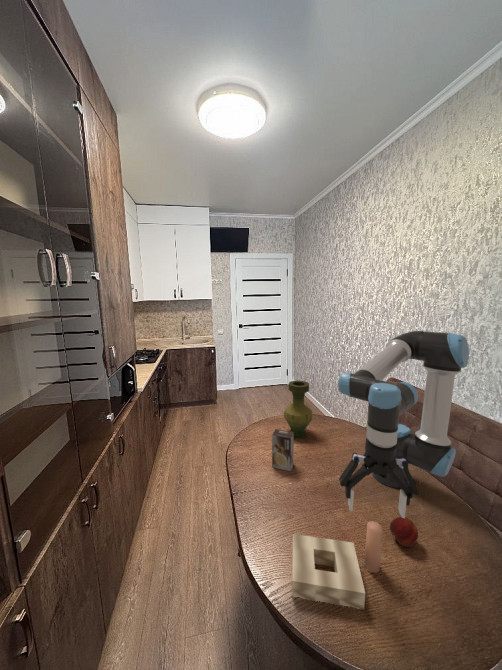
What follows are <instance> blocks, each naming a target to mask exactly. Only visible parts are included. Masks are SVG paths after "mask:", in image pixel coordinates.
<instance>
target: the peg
mask: <svg viewBox="0 0 502 670" xmlns="http://www.w3.org/2000/svg"><path fill="white" fill-rule="evenodd" d="M383 529H384V528H383V526H382V525H381V524H380V523H378V522H376V521H372V520H371V521H368V522H367V524H366V534H365V535H366V536H365V537H366V538H365V551H364V563H365V564H364V567H365V566H366V567H365V569H366V568H367V569H368V570H369V572H370V571H371V572H374V573H373V574H377V573H376V572H378V571H379V572H380V566H381V553H382V542H383V541H382V540H383ZM367 569H366V570H367ZM368 570H367V571H368ZM371 572H370V573H371ZM379 572H378V573H379Z"/></svg>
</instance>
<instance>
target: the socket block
mask: <svg viewBox="0 0 502 670" xmlns="http://www.w3.org/2000/svg"><path fill="white" fill-rule="evenodd" d="M355 548H356V547H355V543H354V542H351V541H345V540H337V539H333V538H332V539H331V538H323V537H318V536H317V537H316V536H310V535H301V534H296V533H293V534H292V554H291V555H292V556H291V557H292V559H291V560H292V565H291V567H292V569H291V570H292V573H291V577H292V579H291V597H292V596H295V597H300V598H304V599H303V600H305V599H308V600H307V601H311V600H312V602H317V601H318V603H322V602H326V603H325V604H328V603H330V604H329V605H333V604H335V606H339V605H343V606H342V607H344V606H352V607H359V608H364V609H365V603H366V591H365V590H366V589H365V586H364V582H363V578H362V573H361V570H360V565H359V561H358V556H357V553H356V549H355ZM316 565H319V566H326V567H333V570H334V571H329V570H328V571H327V570H323V569H316ZM300 598H299V599H300ZM319 601H320V602H319Z"/></svg>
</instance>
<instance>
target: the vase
mask: <svg viewBox="0 0 502 670" xmlns="http://www.w3.org/2000/svg"><path fill="white" fill-rule="evenodd" d="M288 391H290V392H291V393H292V394H291V395H292V403H291V404H289V405H288V406H286V407H285V408H284V412H283V418H284V419H285V421H286V423H287V424H288V426H289V428H290V430H289V431H290V432H294V439H304V438H305V437H306V436H307V433H306V429H307V428H308V426H309V425H310V423H311V422H312V420H313V410H312V409H311V408H310V407H309V406H307V405H306V404H305V394H306V393H309V391H310V383H309V382H307V381H304V380H292V381H289V382H288Z"/></svg>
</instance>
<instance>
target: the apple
mask: <svg viewBox="0 0 502 670" xmlns="http://www.w3.org/2000/svg"><path fill="white" fill-rule="evenodd" d="M389 530H390V532H391V534H392V535H393V537H394V539H396V541H397V542H398V544H399V545H401V546H403V547H412V546H414V544H416V542H417V540H418V538H419V531H418V529H417V526H416V525H415V524H414V522H413V521H412V520H411V519H409V518H407V517H406V516H405V518H402V517H401V516H399V517H395V518H394V519H393V520H392V521H391V522H390V525H389Z"/></svg>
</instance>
